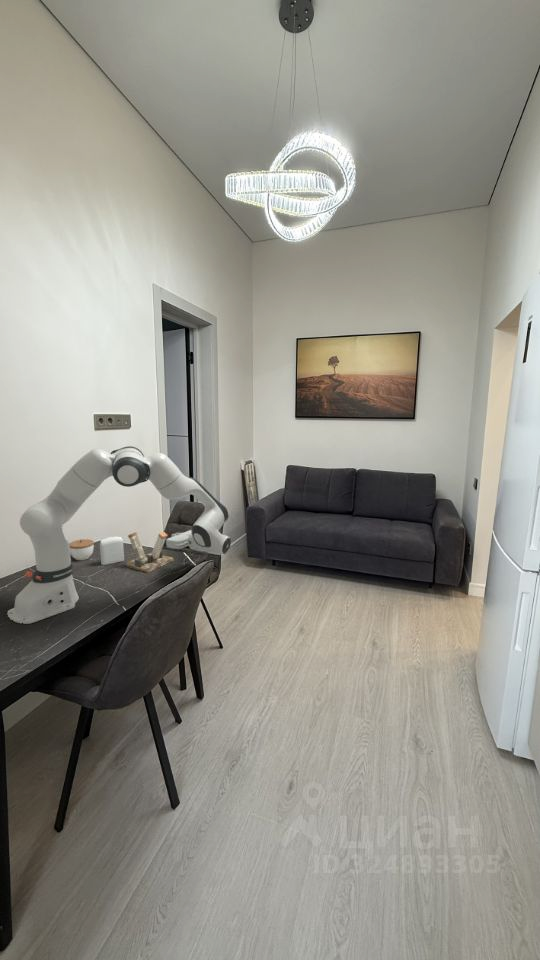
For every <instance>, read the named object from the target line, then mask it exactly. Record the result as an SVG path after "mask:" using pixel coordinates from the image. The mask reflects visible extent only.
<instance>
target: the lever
mask: <svg viewBox="0 0 540 960" xmlns="http://www.w3.org/2000/svg"><path fill="white" fill-rule="evenodd" d="M167 539H168V534H167V533H166V532H165V531H163V532H159V533H158V535H157V538H156V541H155V543H154V546H153V549H152V551H151V552H150V553H151V554H152V556H153V559H156V558H158V557H159V556H160V555H159V554H160V552H162V549H163V547H164V545H165V543H166V540H167Z"/></svg>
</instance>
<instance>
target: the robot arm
mask: <svg viewBox="0 0 540 960" xmlns="http://www.w3.org/2000/svg"><path fill="white" fill-rule="evenodd" d="M110 477H113V479H114V480H115V482H116V483H117V484H118V485H120V486H122V487H127V488H129V487H130V488H131V487H134V486H136V485H139V484H142V483H145V482H147V481H150V483H151V484H152V485H153V486H154V488H155V489H156V490H157V491H158V492H159V494H160V495H161V496H162V497H163V498H164V499H167V500H170V501H177V500H181V499H184V498H185V497H188V496H190V495H192V496H194V497H195V498H196V500H197V501H199V502H200V503H201V504H202V505H203V507H204V511H203V512H202V513H201V515H199V517H198V518H197V519H196V520H195V522H194V523H193V525H192V526H191V529H189V530H187V531H185V532H175V533H172V534H171V537H167V538H166V540H165V543H166V548H168V549H176V550H181V549H184V548H186V547H189V549H190V550H193V551H197V552H206V553H208V554H212V555H219V556H222V555H226V554H227V552H228V551H229V550H230V548H231V545H232V544H231V543H232V539H231V537H230V536H228V535H226V534H222V533H221V532H219V530H220V529H221V528H222V526H223V525H224V524H225V523H226V522H227V521H228V520H229V512H228V508H227V507H226V506H225V505H224V504H223V503H222V502H220V501H218V499H217V498H216V497H214V496H213V494H211V493H210V491H208V489H206V488H205V486H204V485H203V484H201V483H200V481H198V480H197V479H196V478H194V477H191V476H186V475H185V474H184V473H183V472H182V471H181V470H180V469H179V467H178V466H177V465H176V464H175V462H174V461H172V459H171V458H170V457H168V456H167V455H166V454H164V453H162V452H156V453H153V454H151V455H149V456H146V457H145V455H144V454H143V452H142V450H141V449H139V448H137V447H135V446H124V447H121V448H118V449H115V450H111V452H108V451H107V450H104V449H101V448H93V449H91V450H90V451H89V452H87V453H86V454H84V455H83V456H82V457H80V459H79V460H77V461H76V462H75V463H74V464H73V465H72V466H71V467H70V468H69V470H68V471H67V472H66V473H65V474H63V476H62V477H61V478H59V480H58V481H57V483H56V485H55V487H54V489H53V490H52V491H51V492H50V493H49V495H47V496H46V498H44V499H43V500H41V501H39V502H37V503H34V504H32V505H31V506H29V507H28V508H27V509H26V510H25V511H24V512H23V513H22V515H21V517H20V520H19V525H20V528H21V530H22V532H23V533H25V534H26V535H28V536H29V539H30V541H31V543H32V546H33V550H34V559H35V566H36V568H35V569H34V571H33V572H32V571H30V570H27V571H26V572H25V573H24V576H25V577H27V578H29V579H30V578H31V581H30V582H29V583H28V584H27V585H26V586H25V587H24V588H23V589H22V590H20V591H19V593H18V594H16V596H15V599H14V607H13V608H11V609H9V610H7V615H8V616H7V618H8V617H9V618H10V619H9V618H8V619H9V620H11V621H12V620H13V622H15V623H18V624H22V623H23V625H25V624H26V625H28V624H32V623H37V622H38V621H41V620H44V619H46V618H49V617H52V616H55V615H58V614H61V613H63V612H67V611H69V610H72V609H74V608H76V603H77V602H78V600H80V597H79V593H78V592H77V590H76V587H75V581H74V577H73V576H74V567H73V562H72V560H71V559H72V558H71V557H72V555H71V553H70V542H69V541H68V540H67V539H66V537H65V535H64V534H65V533H64V532H63V525H65V524H66V523H67V522H68V521H70V520H71V519H72V518H73V516H75V514H76V513H77V512H78V510H79V509H80V508H81V507H82V505H84V503H85V502H86V500H88V498H89V497H90V496H91V495H92V494H93V493H94V492H95V491H96V490H98V488H99V487H100V486H101V485H102V484H103V483H104V481H106V480H107V479H108V478H110Z"/></svg>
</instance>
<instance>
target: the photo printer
mask: <svg viewBox="0 0 540 960" xmlns="http://www.w3.org/2000/svg"><path fill="white" fill-rule="evenodd" d="M99 542H100V543H99V552H100V564H101V566H106V565H112V564H116V563H120V562H121V563H122V562H124V561H125V552H124V551H125V550H124V540H123V538H122V537H121V536H110V537H106V538H103V539H101V540H100V541H99Z"/></svg>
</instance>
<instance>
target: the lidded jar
mask: <svg viewBox="0 0 540 960" xmlns="http://www.w3.org/2000/svg"><path fill="white" fill-rule="evenodd" d="M94 543H95V542H94V540H92V539H85V538H84V539H82V538H81V539H77V540H73V541H71V542H69V544H70V556H71V557H72V558H74V559H75V561H85V560H88V559H89V558H90V557H91V556H92V555H93V553H94V548H95V545H94Z"/></svg>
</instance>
